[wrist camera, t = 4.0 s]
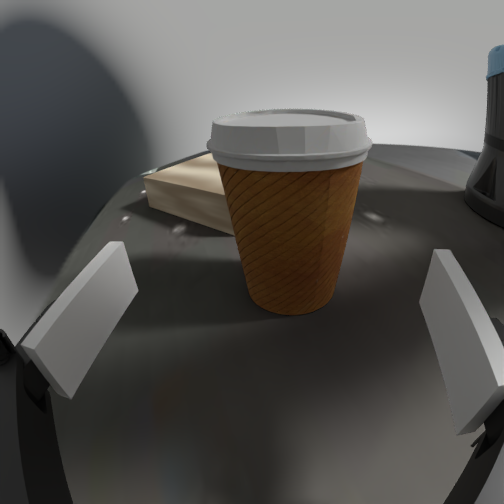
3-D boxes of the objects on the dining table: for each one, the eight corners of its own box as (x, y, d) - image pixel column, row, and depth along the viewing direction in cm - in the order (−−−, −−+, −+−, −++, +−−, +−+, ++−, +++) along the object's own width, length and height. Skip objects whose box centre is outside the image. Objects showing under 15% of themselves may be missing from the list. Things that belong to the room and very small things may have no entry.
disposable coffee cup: (305, 357, 17) (313, 136, 11) (199, 292, 23) (171, 125, 17) (377, 278, 23) (395, 118, 16) (282, 241, 28) (276, 106, 22)
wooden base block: (228, 172, 48) (226, 148, 46) (314, 189, 39) (314, 159, 37) (149, 206, 38) (143, 177, 36) (236, 236, 30) (232, 196, 28)
